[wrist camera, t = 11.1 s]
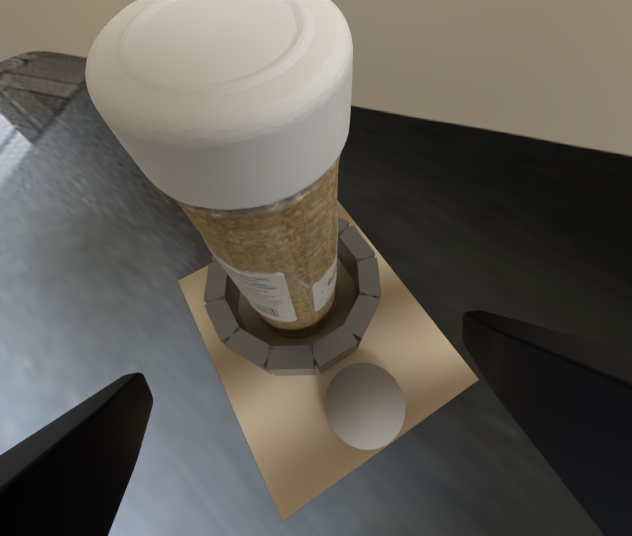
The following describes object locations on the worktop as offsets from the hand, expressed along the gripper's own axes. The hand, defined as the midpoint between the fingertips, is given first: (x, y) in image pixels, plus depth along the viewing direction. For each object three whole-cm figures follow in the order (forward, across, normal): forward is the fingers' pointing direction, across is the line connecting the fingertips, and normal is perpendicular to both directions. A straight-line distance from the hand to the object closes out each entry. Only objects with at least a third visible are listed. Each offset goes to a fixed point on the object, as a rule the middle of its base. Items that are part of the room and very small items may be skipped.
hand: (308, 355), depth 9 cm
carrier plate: (+8, 0, +4) cm, 9 cm away
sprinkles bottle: (+9, 0, +2) cm, 9 cm away
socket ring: (+9, 0, +3) cm, 10 cm away
